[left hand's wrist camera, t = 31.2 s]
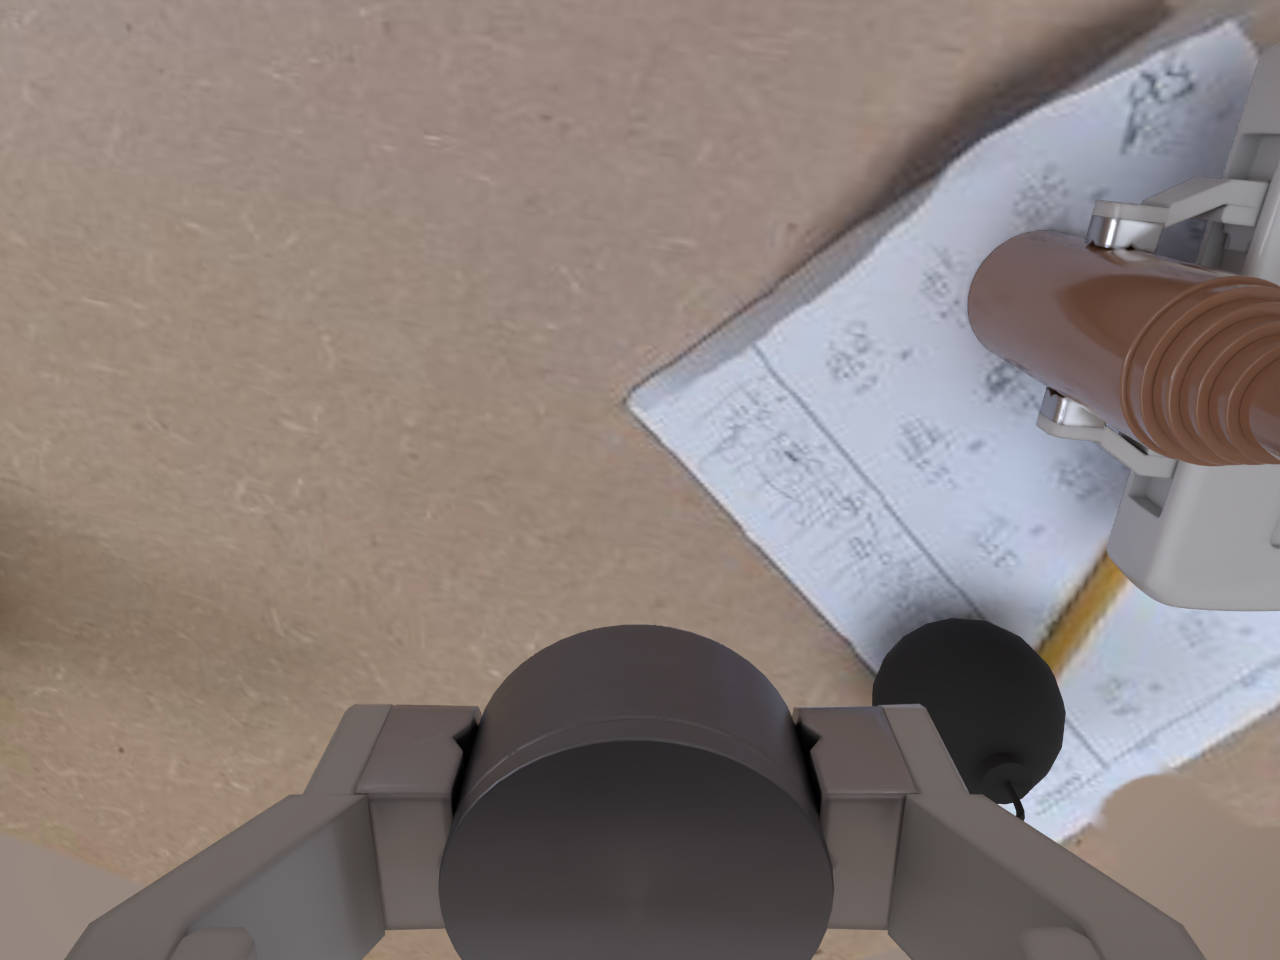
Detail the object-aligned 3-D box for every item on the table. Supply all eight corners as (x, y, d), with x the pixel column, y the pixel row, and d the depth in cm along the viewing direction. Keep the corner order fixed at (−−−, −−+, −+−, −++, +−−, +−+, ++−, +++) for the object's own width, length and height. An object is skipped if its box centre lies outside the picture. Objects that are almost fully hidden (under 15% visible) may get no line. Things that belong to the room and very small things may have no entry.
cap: (524, 579, 10) (496, 690, 8) (851, 675, 10) (899, 801, 8) (440, 844, 11) (397, 993, 9) (732, 919, 11) (749, 1076, 10)
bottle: (1104, 223, 36) (1538, 305, 19) (1093, 354, 38) (1478, 540, 20) (969, 237, 36) (1275, 330, 19) (965, 366, 38) (1239, 560, 21)
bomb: (1055, 642, 42) (1204, 823, 31) (941, 755, 45) (1043, 961, 34) (931, 556, 41) (1041, 715, 30) (820, 678, 43) (884, 868, 32)
